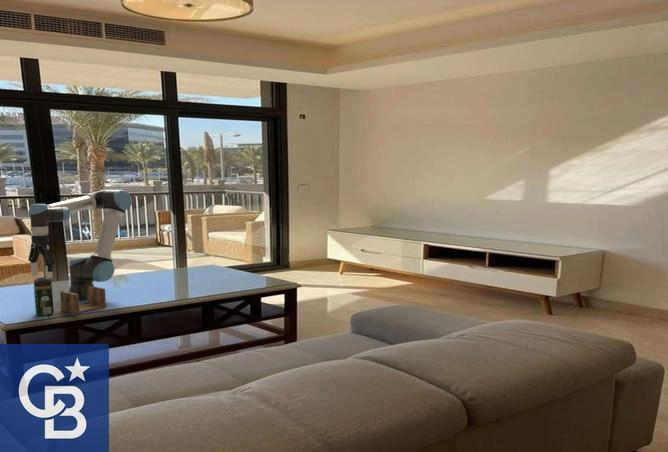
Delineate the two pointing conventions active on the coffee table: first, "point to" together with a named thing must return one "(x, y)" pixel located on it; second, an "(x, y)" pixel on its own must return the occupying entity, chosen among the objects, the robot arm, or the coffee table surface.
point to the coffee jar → (43, 296)
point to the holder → (94, 303)
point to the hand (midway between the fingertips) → (42, 276)
